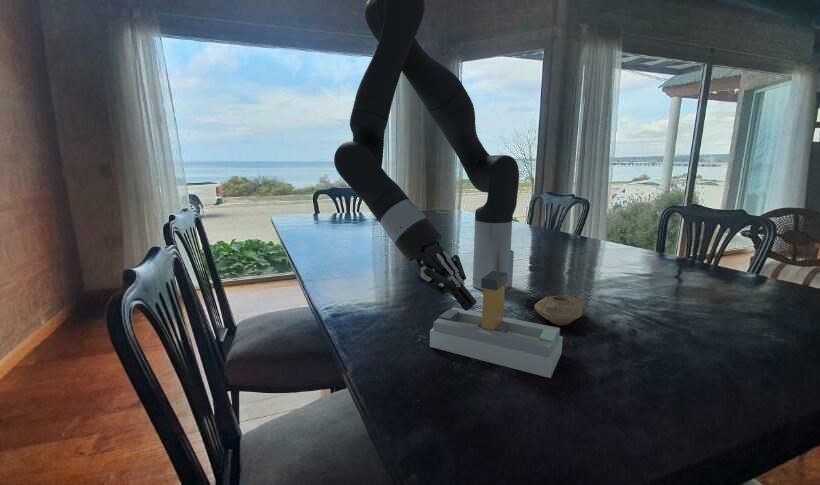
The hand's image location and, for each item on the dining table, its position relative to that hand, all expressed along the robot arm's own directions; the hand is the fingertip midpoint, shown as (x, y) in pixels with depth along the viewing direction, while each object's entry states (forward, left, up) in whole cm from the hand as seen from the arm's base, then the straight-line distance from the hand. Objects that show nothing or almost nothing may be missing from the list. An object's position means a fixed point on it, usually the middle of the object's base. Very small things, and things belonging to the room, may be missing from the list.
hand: (471, 306), depth 67 cm
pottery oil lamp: (-24, -2, -7) cm, 25 cm away
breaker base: (-2, +4, -7) cm, 8 cm away
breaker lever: (-2, +3, -4) cm, 5 cm away
